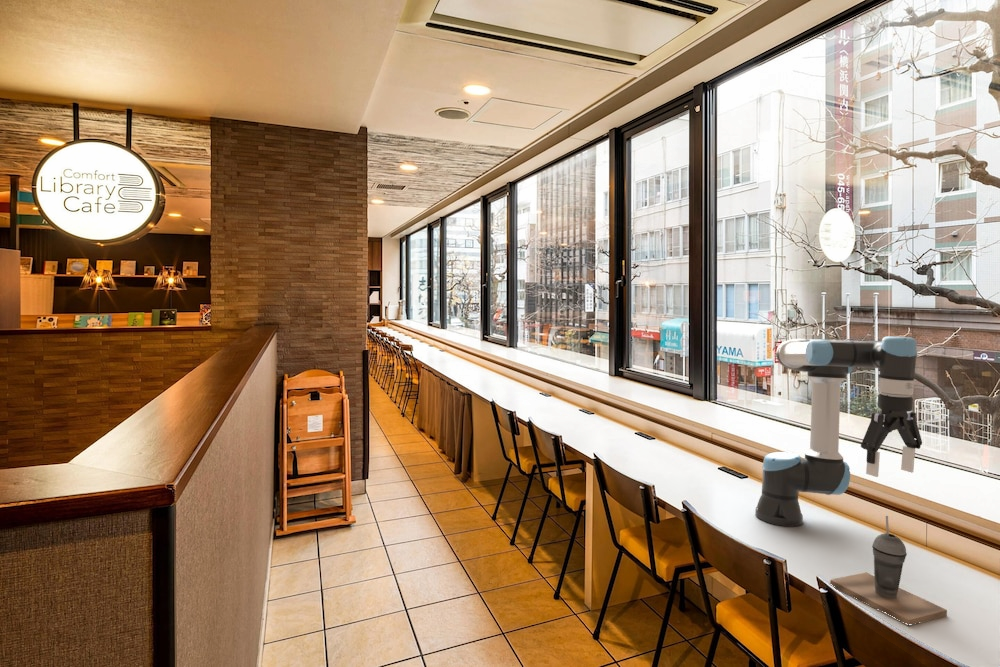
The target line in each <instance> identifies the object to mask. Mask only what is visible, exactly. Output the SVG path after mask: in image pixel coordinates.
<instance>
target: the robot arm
mask: <svg viewBox="0 0 1000 667" xmlns="http://www.w3.org/2000/svg"><path fill="white" fill-rule="evenodd" d="M917 347H918V346H917V340H916V338H914V337H909V336H894V335H893V336H889V335H888V336H884V337H883V338H882V339H881V340H869V341H868V340H843V339H842V340H841V339H824V338H819V339H815V338H793V339H788V340H786V341H783V342H782V343H781V344H779V345H778V347H777V349H776V351H775V355H776V360H777V361H778V363H779V364H780V365H781V366H782V367H784V368H785V369H788V370H792V371H794V372H795V371H796V372H807V378H808V379H809V380H810V381H811V385H812V386H811V406H810V407H811V408H810V410H811V413H810V437H809V440H810V441H809V442H810V444H809V446H810V447H809V449H808V450H807V451H805V452H804V458H801V456H800V455H799V454H798V453H795V452H788V451H776V452H770V453H768V454H766V455H765V456H764V458H763V462H762V480H761V481H762V482H761V483H762V484H761V495H760V497H759V499H758V501H757V505H756V507H755V510H754V511H755V517H756V518H758V519H759V520H761V521H763V522H765V523H768V524H773V525H776V526H782V527H798V526H802V524H804V521H803V520H804V515H803V514H802V511H801V506H800V502H799V493H810V494H822V495H827V496H831V495H835V496H837V495H838V496H840V495H843V494H844V493H846V491H847V490H848V487H849V485H850V482H851V471H850V469H851V468H850V466H849V464H848V463H847V462H846V461H844V456H843V455H842V454H841V453H840V452H839V445H840V443H839V440H840V439H839V437H840V414H841V413H840V411H841V410H840V409H841V405H840V404H841V384H842V383H843V382H845V380H846V379H847V375H849V374H851V373H852V371H853V370H854V369H853V368H869V369H879V377H878V378H879V379H878V392H879V394H878V395H877V407H878V408H880V410H881V411H880V413H877V412H872V414H871V418H870V423H869V425H868V427H867V429H866V432H865V434H864V437H863V439H862V442H861V443H860V448H861V449H862V450H863V449H864V450H866V467H865V468H866V469H865V474H866V475H869V476H871V477H872V476H873V477H875V478H878V477H879V470H880V456H881V455H880V453H881V452H880V451H879V449H880V447H881V446H882V444H883V443H884V442H885V440H886V438H887V436H888V435H889V433H892V432H893V431H897V433H898V434H899V436H900V438H901V439H902V441H903V443H904V444H905V445H903V446H902V453H901V467H900V469H901V470H902V471H904V472H908V473H914V467H915V455H916V449H919V450H920V448H921V446H922V445H923V441H922V436H921V433H920V430H919V429H920V428H919V426H918V422H917V413H916V412H915V411H912V410H913V405H914V404H913V403H914V398H913V395H914V388H915V375H916V367H917V366H916V363H917V355H918V350H917Z"/></svg>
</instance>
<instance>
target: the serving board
mask: <svg viewBox="0 0 1000 667" xmlns="http://www.w3.org/2000/svg"><path fill="white" fill-rule="evenodd" d="M829 582H830V583H829V585H830V584H832V585H833V586H835V587H836V588H837V590H838V589H839V590H838V591H840V592H842V593H844V592H845V593H844V594H846V595H848V596H850V597H852V596H853V597H852V598H854V597H855V598H854V599H856V598H857V599H858V601H859V600H860V601H859V602H861V601H863V602H865V603H867V604H869V605H870V606H869V605H868V606H869V607H871V608H873V607H874V608H873V609H875V608H876V609H875V610H877V609H879V610H881V611H883V612H886V613H887V614H889V615H891V616H893V617H895V618H896V619H898V620H900V621H902V622H904V623H907V624H908V625H909V624H915V623H919V622H923V623H926V622H930V621H934V620H937V619H940V618H944V617H947V616H948V609H946V608H943V607H942V606H939V605H937V604H935V603H933V602H931V601H928V600H926V599H924V598H922V597H920V596H918V595H916V594H913V593H912V592H910V591H907V590H905V589H903V588H901V587H899V588H898V592H897V597H896V598H894V599H890V598H886V597H883V596H880V595H878V594H877V593H876V592H875V579H874V574H871V573H869V572H861V573H857V574H851V575H847V576H843V577H838V578H833V579H830V581H829ZM833 586H832V587H833ZM836 588H835V589H836ZM857 599H856V600H857ZM863 602H862V603H863ZM865 603H864V604H865ZM867 604H866V605H867ZM896 619H895V620H896ZM898 620H897V621H898ZM900 621H899V622H900ZM919 624H920V623H919ZM915 625H916V624H915Z"/></svg>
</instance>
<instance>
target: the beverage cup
mask: <svg viewBox="0 0 1000 667" xmlns="http://www.w3.org/2000/svg"><path fill="white" fill-rule="evenodd" d="M885 529H886V531H885V533H881V534H879V535H877V536H876V537H875V538H874V540H873V542H872V553H873V554H872V555H873V576H874V579H875V592H876V593H877V594H878V595H880V596H883V597H886V598H890V599H894V598H896V597H897V592H898V588H900V582H901V577H902V571H903V566H904V564H905V560H906V557H907V554H908V553H907V548H906V546H905V543H904V542H903V541H902V539H901V538H900V537H898V536H897V535H895V534H893V533H890V530H889V529H890V528H889V516H888V515H885Z"/></svg>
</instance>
